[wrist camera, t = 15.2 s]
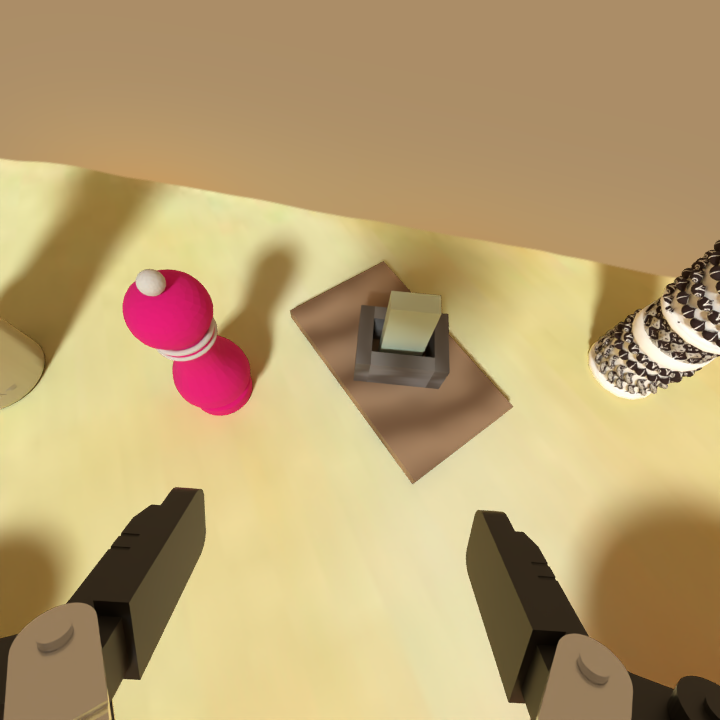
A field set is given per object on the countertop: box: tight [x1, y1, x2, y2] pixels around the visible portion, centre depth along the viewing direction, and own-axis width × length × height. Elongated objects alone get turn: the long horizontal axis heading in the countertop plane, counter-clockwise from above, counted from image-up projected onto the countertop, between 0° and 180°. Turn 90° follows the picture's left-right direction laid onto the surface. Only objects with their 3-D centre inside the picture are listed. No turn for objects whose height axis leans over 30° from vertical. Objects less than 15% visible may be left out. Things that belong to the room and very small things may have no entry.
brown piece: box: [290, 261, 513, 484], centre depth 43 cm, size 14×24×6 cm, turn 35°
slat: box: [378, 291, 442, 356], centre depth 39 cm, size 4×2×11 cm, turn 86°
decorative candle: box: [588, 240, 720, 400], centre depth 36 cm, size 9×9×25 cm
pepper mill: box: [123, 269, 252, 415], centre depth 34 cm, size 7×7×20 cm
